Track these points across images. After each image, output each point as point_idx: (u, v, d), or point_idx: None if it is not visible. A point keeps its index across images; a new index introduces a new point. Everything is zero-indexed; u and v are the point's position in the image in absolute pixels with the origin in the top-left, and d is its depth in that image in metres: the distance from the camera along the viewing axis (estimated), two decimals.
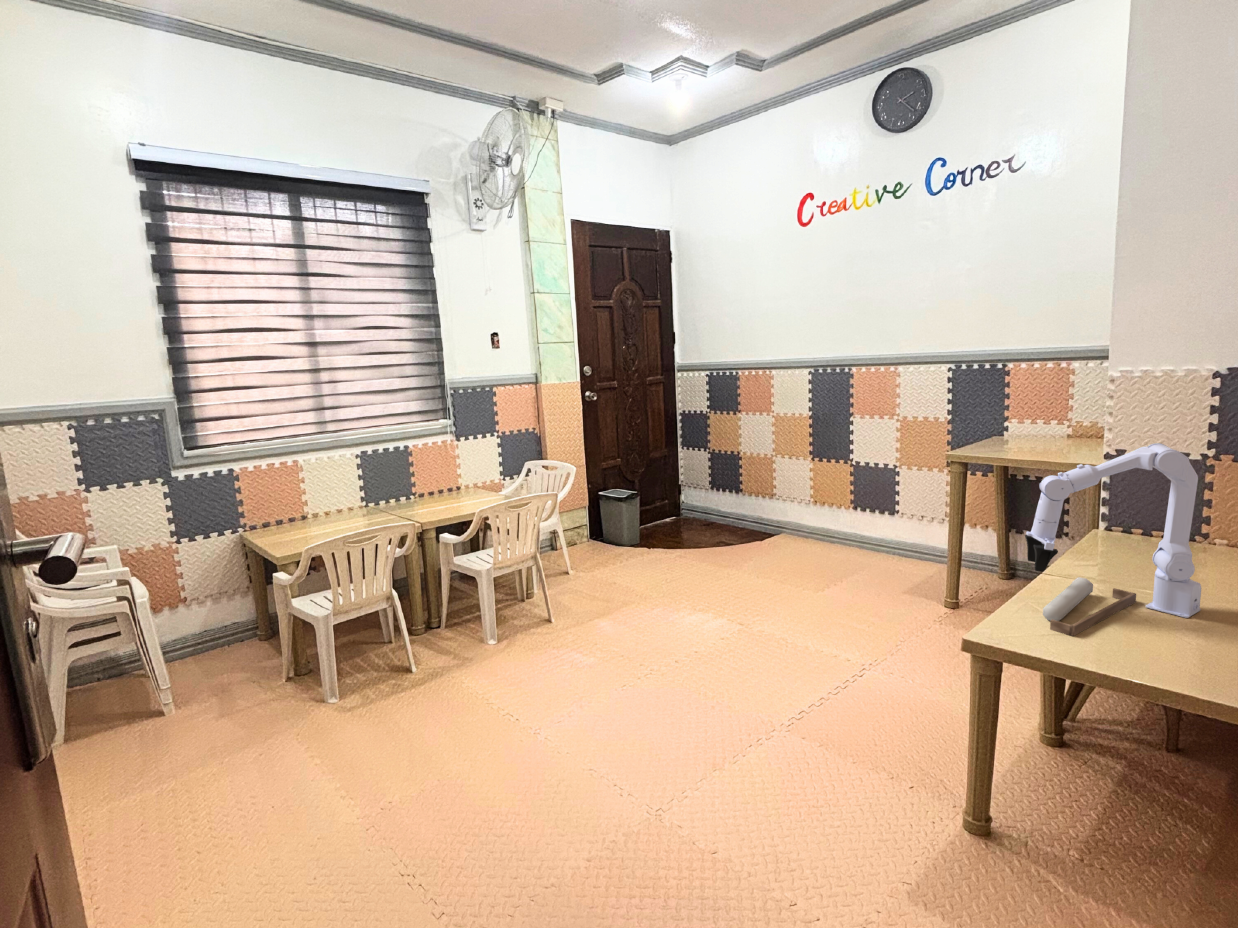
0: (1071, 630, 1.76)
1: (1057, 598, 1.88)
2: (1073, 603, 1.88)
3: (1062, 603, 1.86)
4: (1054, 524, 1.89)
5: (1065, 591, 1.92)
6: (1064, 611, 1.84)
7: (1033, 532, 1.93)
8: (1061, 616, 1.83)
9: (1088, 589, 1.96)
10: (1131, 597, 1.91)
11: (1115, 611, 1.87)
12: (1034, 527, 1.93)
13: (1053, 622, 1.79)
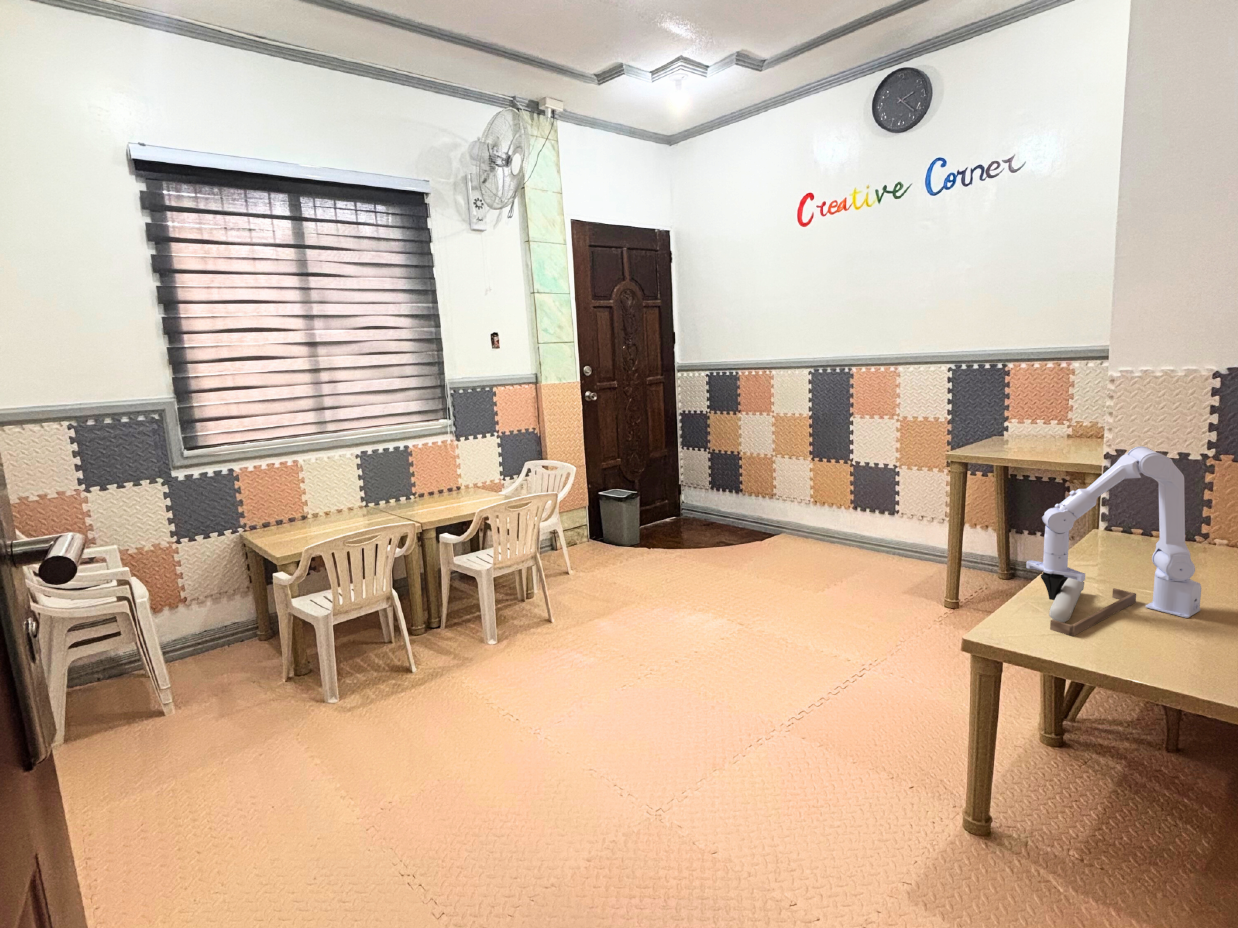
0: (1071, 630, 1.76)
1: (1061, 598, 1.87)
2: (1075, 603, 1.88)
3: (1068, 604, 1.85)
4: None
5: (1065, 590, 1.92)
6: (1071, 612, 1.83)
7: (1053, 568, 1.91)
8: (1069, 617, 1.82)
9: (1081, 587, 1.97)
10: (1131, 597, 1.91)
11: (1115, 611, 1.87)
12: (1053, 563, 1.91)
13: (1053, 622, 1.79)
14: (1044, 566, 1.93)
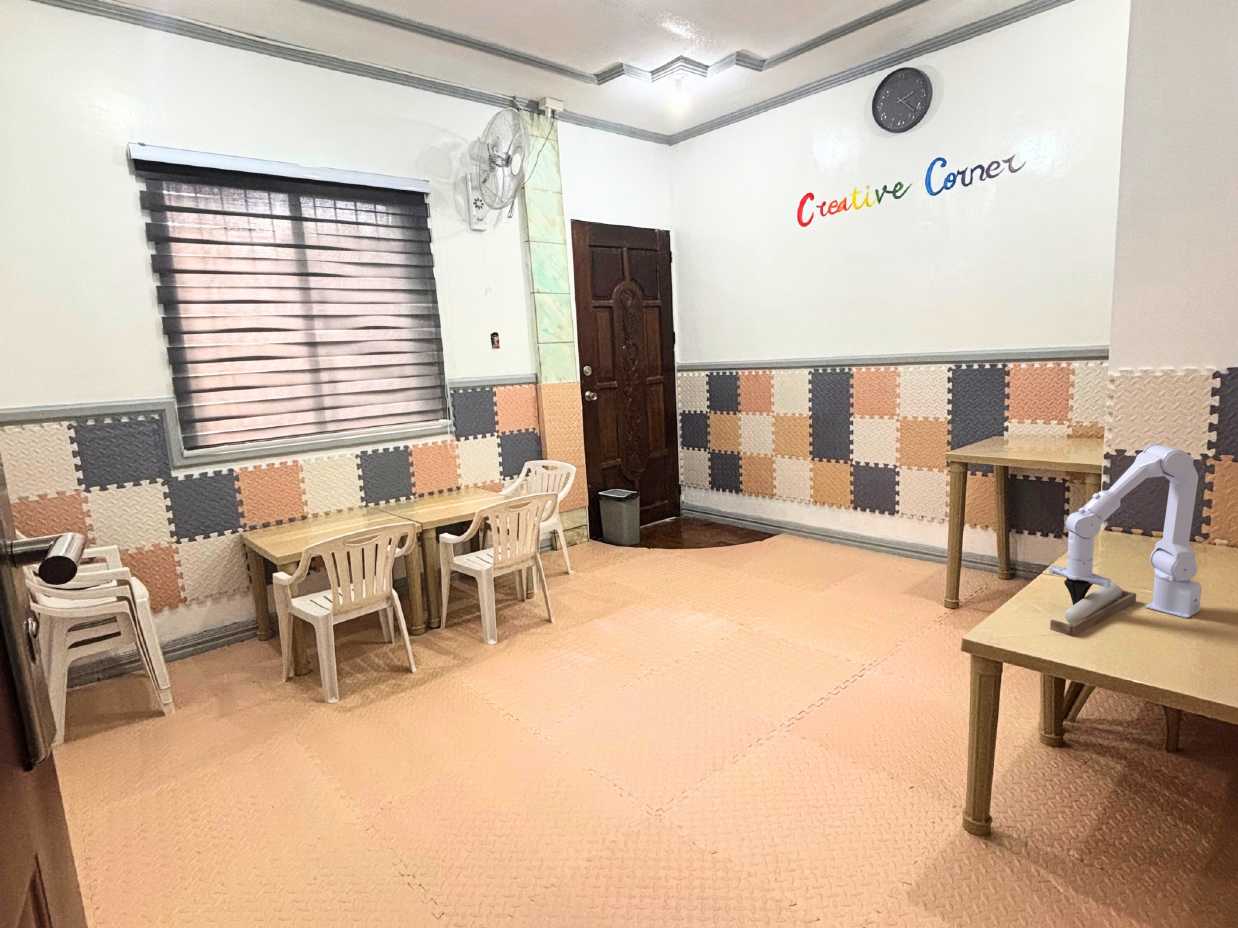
0: (1071, 630, 1.76)
1: (1081, 602, 1.85)
2: (1098, 607, 1.85)
3: (1085, 607, 1.82)
4: (1092, 560, 1.86)
5: (1090, 595, 1.88)
6: (1087, 615, 1.81)
7: (1077, 574, 1.86)
8: None
9: (1116, 594, 1.91)
10: (1131, 597, 1.91)
11: (1115, 611, 1.87)
12: (1077, 569, 1.85)
13: (1053, 622, 1.79)
14: (1068, 572, 1.88)
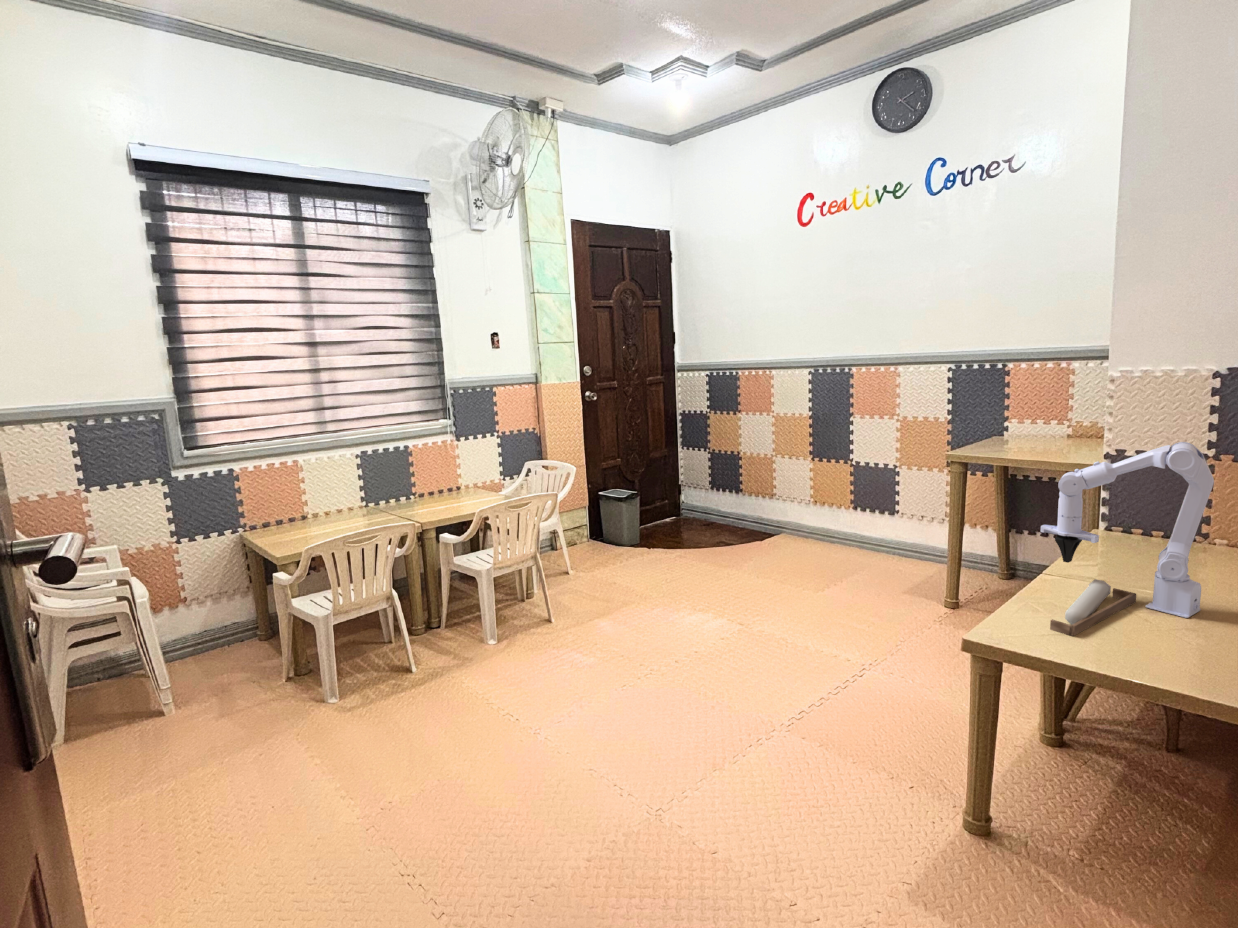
0: (1071, 630, 1.76)
1: (1078, 601, 1.85)
2: (1094, 606, 1.85)
3: (1084, 606, 1.83)
4: (1081, 517, 1.96)
5: (1085, 594, 1.89)
6: (1087, 614, 1.81)
7: (1067, 531, 1.96)
8: None
9: (1106, 591, 1.93)
10: (1131, 597, 1.91)
11: (1115, 611, 1.87)
12: (1067, 526, 1.96)
13: (1053, 622, 1.79)
14: (1058, 529, 1.98)
